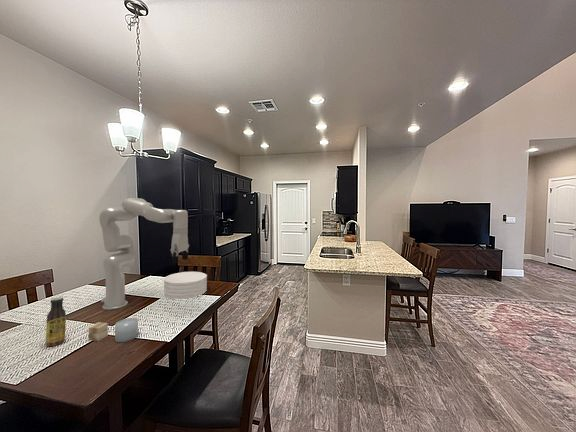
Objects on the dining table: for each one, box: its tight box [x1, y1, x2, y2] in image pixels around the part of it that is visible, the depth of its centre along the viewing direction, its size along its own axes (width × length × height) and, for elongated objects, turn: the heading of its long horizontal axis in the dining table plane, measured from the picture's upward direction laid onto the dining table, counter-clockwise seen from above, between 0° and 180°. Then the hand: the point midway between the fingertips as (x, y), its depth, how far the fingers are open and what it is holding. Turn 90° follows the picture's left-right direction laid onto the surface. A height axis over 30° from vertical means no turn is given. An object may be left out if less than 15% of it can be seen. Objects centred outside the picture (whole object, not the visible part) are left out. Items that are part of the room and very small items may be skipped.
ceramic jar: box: [114, 317, 139, 343], centre depth 114 cm, size 9×9×7 cm
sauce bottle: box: [45, 296, 67, 347], centre depth 108 cm, size 7×6×20 cm
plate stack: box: [163, 271, 208, 300], centre depth 173 cm, size 28×28×12 cm
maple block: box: [87, 321, 109, 342], centre depth 113 cm, size 5×5×6 cm
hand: (180, 261), depth 140 cm, fingers open, 9 cm apart
